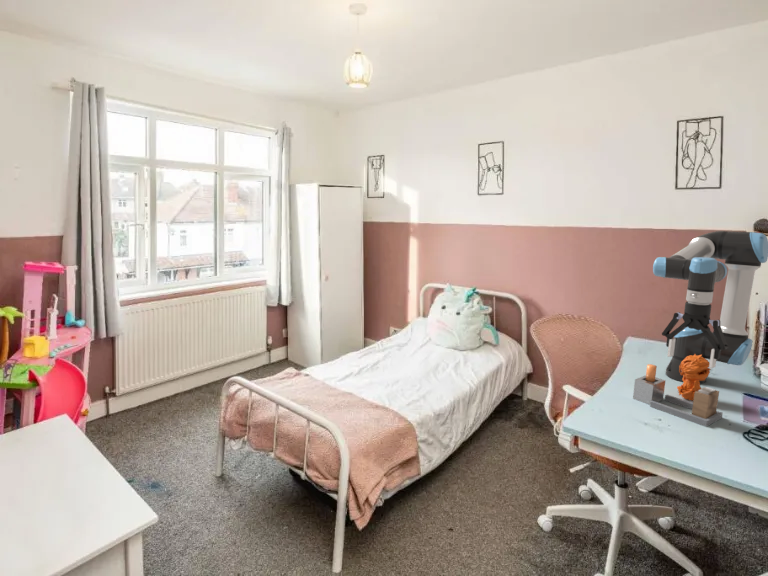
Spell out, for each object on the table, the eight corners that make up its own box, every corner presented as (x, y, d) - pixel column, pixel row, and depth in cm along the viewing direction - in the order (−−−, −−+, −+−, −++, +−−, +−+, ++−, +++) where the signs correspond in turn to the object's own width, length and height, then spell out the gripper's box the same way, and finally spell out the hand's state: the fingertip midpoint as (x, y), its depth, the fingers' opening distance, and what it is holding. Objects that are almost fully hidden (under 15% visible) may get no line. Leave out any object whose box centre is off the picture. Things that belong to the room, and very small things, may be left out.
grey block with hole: (645, 393, 188) (647, 374, 186) (663, 399, 182) (665, 380, 180) (632, 398, 183) (635, 379, 181) (651, 405, 177) (653, 385, 176)
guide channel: (666, 399, 182) (667, 394, 182) (721, 417, 167) (722, 412, 166) (650, 406, 176) (650, 401, 175) (706, 426, 160) (706, 421, 160)
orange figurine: (713, 404, 178) (719, 360, 174) (681, 402, 180) (687, 357, 176) (699, 393, 188) (705, 350, 185) (670, 391, 190) (675, 348, 187)
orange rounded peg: (648, 378, 183) (649, 363, 182) (656, 380, 180) (658, 366, 179) (643, 379, 181) (645, 365, 180) (652, 382, 179) (653, 367, 178)
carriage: (701, 412, 170) (705, 385, 168) (715, 417, 167) (719, 389, 165) (691, 418, 166) (694, 390, 164) (705, 423, 162) (709, 394, 160)
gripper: (655, 297, 168) (649, 353, 172) (735, 311, 147) (726, 374, 151) (666, 295, 172) (660, 350, 176) (746, 308, 151) (736, 370, 155)
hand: (690, 361), depth 163 cm, fingers open, 13 cm apart
